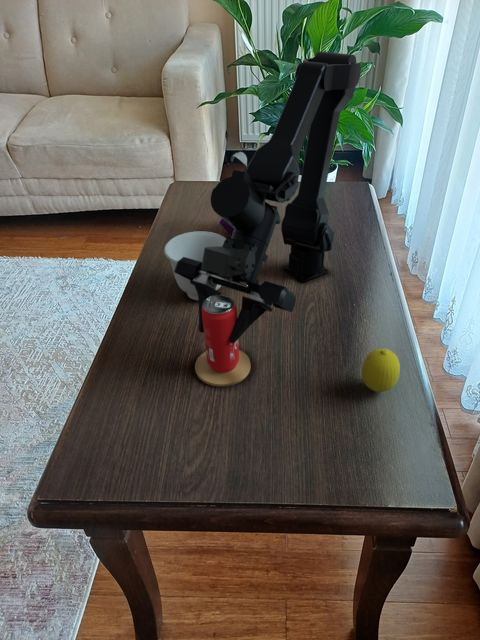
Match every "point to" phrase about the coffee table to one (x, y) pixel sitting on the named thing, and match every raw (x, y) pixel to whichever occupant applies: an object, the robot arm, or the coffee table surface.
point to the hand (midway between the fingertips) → (216, 337)
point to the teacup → (191, 254)
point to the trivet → (222, 379)
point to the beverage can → (220, 332)
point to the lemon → (381, 370)
